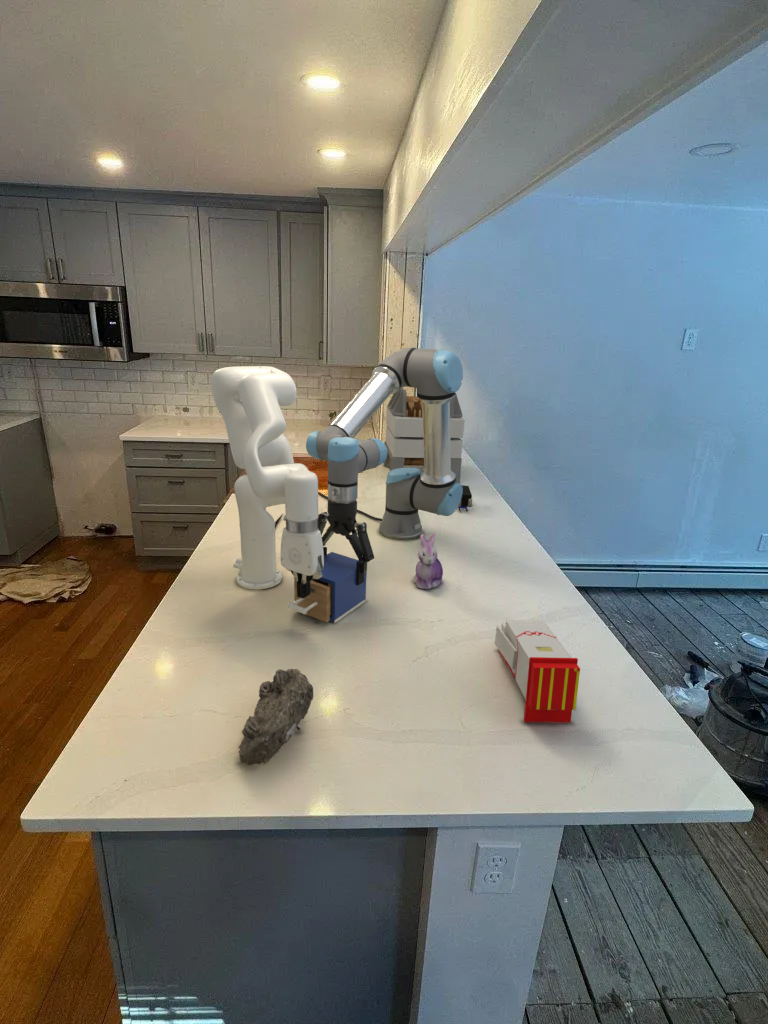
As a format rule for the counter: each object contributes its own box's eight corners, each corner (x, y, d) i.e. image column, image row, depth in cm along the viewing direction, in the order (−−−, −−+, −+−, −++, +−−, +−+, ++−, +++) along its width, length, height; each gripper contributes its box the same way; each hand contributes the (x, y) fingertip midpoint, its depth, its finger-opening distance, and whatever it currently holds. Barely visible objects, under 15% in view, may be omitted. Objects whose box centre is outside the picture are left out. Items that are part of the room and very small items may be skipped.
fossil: (254, 669, 115) (309, 637, 110) (285, 700, 118) (340, 670, 113) (215, 759, 96) (280, 724, 91) (253, 792, 99) (319, 761, 94)
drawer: (312, 632, 136) (312, 597, 132) (279, 619, 141) (278, 585, 138) (355, 602, 150) (356, 570, 147) (324, 591, 155) (324, 560, 152)
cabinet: (334, 622, 142) (335, 581, 138) (299, 608, 148) (298, 569, 144) (365, 601, 153) (367, 562, 149) (331, 589, 159) (331, 551, 155)
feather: (290, 508, 223) (292, 504, 223) (272, 532, 197) (275, 527, 196) (286, 505, 223) (289, 501, 223) (268, 529, 197) (271, 525, 196)
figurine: (423, 593, 159) (426, 543, 153) (405, 577, 167) (408, 530, 162) (451, 587, 163) (455, 538, 158) (432, 572, 171) (436, 526, 166)
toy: (541, 605, 135) (589, 664, 106) (536, 657, 138) (581, 729, 108) (490, 604, 135) (524, 663, 105) (486, 656, 137) (518, 728, 108)
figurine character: (472, 516, 224) (466, 500, 237) (474, 499, 220) (469, 483, 234) (455, 515, 224) (451, 499, 237) (457, 498, 220) (452, 483, 234)
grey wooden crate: (382, 463, 289) (386, 382, 275) (445, 464, 293) (451, 384, 279) (390, 482, 257) (394, 392, 243) (460, 483, 261) (468, 394, 247)
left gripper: (267, 522, 132) (270, 593, 138) (317, 535, 125) (318, 610, 130) (288, 514, 138) (290, 582, 144) (337, 526, 131) (337, 598, 136)
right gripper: (296, 493, 146) (297, 569, 154) (373, 513, 134) (370, 595, 142) (314, 486, 152) (314, 560, 160) (390, 505, 140) (386, 584, 148)
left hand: (303, 595), depth 137 cm, fingers closed
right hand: (340, 576), depth 151 cm, fingers closed on cabinet, 12 cm apart
